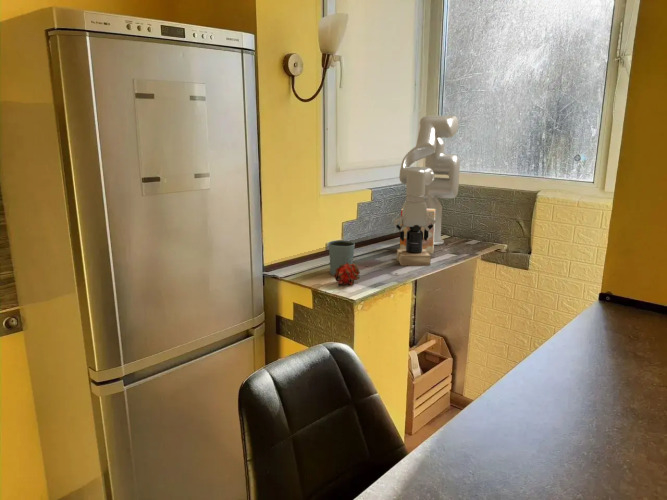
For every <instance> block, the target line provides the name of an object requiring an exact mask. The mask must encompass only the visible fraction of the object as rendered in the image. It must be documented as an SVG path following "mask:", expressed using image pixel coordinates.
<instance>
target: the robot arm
mask: <svg viewBox="0 0 667 500" xmlns="http://www.w3.org/2000/svg"><path fill="white" fill-rule="evenodd" d="M458 130H459V118H458V117H457V116H455V115H426V116H423V117H421V119H420V121H419V131H418V134H417V140H416V145H415V146H414V147H413V148H411V149H410V150H409V151H408V152H407V153H406V154H405V155H404V156H403V158H402V161H401V166H400V169H399V176H398V177H399V181H400V183H401V184H403V185H406V188H405V189H406V190H405V191H406V192H405V194H406V195H405V202H403V205H402V208H403V211H402V216H401V215H400V217H397V218H395V219H394V220H393V223H394V226H395V227H396V228H397V229H398V230H399V240H400V239H401V240H402V241H404V231H403V230H404V229H405V228H406V227H414V225H419V227H424V228H425V230H424V240H425V241H427V238H428V233H429V230H430V229H431V228H432V227H433V225H434V224H435V232H434V246H439V245H443V244H444V242H445V240H444V239H442V238H441V237H442V214H443V213H442V212H443V206H442V203H441V202H440V201H439V199H455V198H456V197H457V196H458V193H459V183H460V182H459V181H460V170H461V169H460V158H459V156H457V155H456V154H445V147H446V146H445V141H444V140H443V138H445V139H449V138H453V136H454V135H456V133H457V132H458ZM422 159H425V160H424V165H425V166H423V167H422V166H412V164H413V163H415V162H417V161H420V160H422ZM435 175H441V176H443V175H444V176H448V177H435ZM427 209H435V220H434V219H432V218H430V217H428V216H427ZM401 220H402V226H401V225H399V222H401ZM427 220H429V221H431V223H430V225H429V226H428V227H427V226H426V225H427Z"/></svg>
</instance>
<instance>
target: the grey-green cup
mask: <svg viewBox="0 0 667 500" xmlns="http://www.w3.org/2000/svg"><path fill="white" fill-rule="evenodd" d="M355 246H356V244H355V242H354V241H350V240H343V239H342V240H338V239H337V240H331V241H329V242H328V251H329V252H328V253H329V268H330V269H329V273H330V275H332V276H334V275H335V274H336V269H337V268H339V267H340V265H341V264H342V265H346V262H348V263H349V264H350V265H351V264H352V263H353V264H354V257H355V255H354V254H355V248H356V247H355Z"/></svg>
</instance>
